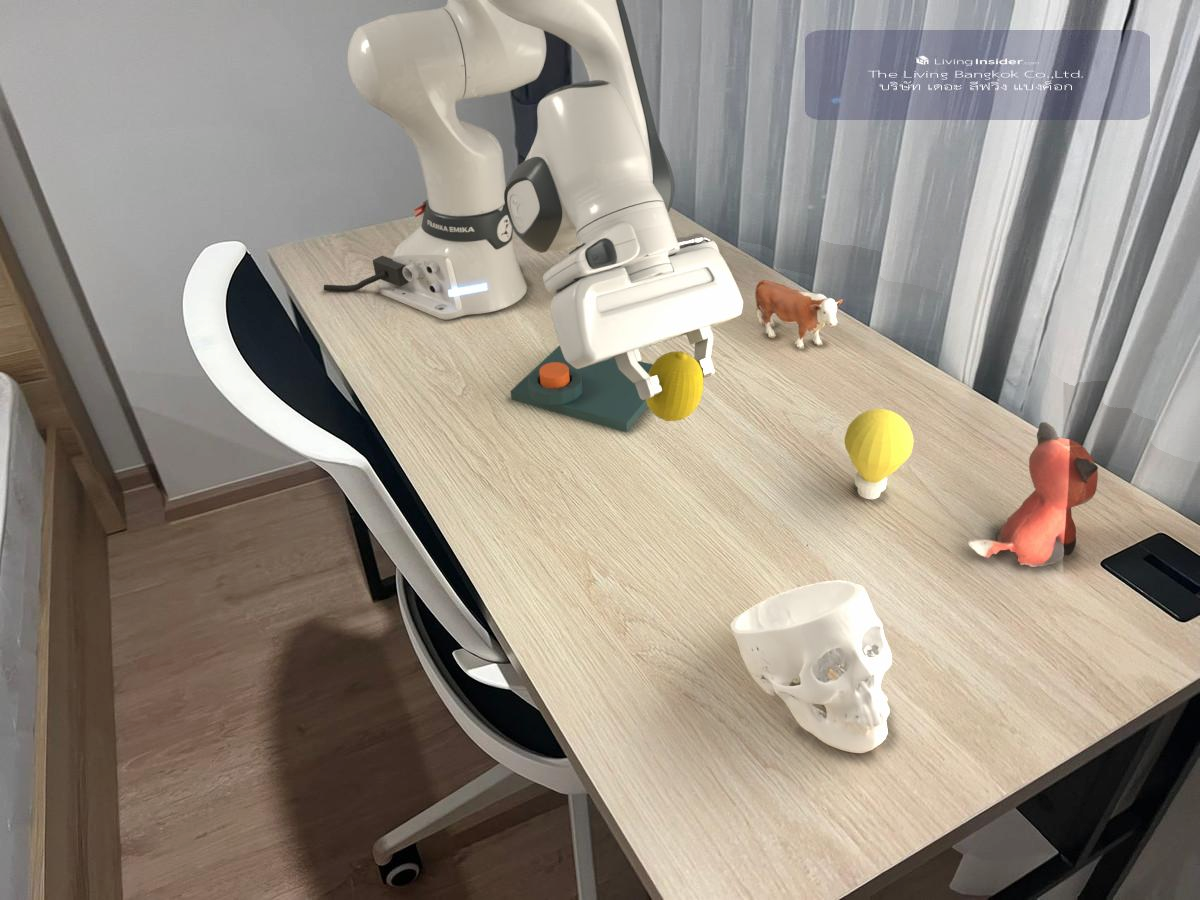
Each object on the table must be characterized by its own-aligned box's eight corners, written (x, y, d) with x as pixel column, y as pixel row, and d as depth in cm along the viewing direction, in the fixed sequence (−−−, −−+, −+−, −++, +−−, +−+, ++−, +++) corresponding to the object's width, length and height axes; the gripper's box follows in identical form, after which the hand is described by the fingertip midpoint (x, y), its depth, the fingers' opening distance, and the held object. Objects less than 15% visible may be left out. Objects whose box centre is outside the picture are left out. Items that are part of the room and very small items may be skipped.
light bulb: (824, 482, 97) (835, 406, 91) (875, 466, 99) (890, 389, 93) (862, 520, 92) (876, 441, 86) (915, 501, 94) (933, 423, 88)
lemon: (697, 439, 87) (714, 372, 82) (640, 435, 86) (654, 366, 81) (691, 405, 91) (707, 339, 86) (637, 401, 91) (650, 333, 86)
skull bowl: (844, 790, 66) (798, 638, 65) (739, 735, 79) (698, 607, 77) (945, 724, 70) (904, 580, 69) (830, 682, 83) (793, 560, 81)
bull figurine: (825, 365, 116) (833, 309, 111) (746, 328, 124) (750, 274, 119) (846, 353, 118) (854, 297, 113) (766, 317, 126) (771, 264, 121)
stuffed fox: (944, 539, 89) (970, 442, 82) (1032, 508, 93) (1065, 412, 85) (998, 589, 84) (1031, 490, 76) (1090, 554, 87) (1130, 456, 80)
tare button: (534, 385, 109) (533, 373, 108) (549, 371, 112) (548, 359, 111) (560, 392, 108) (559, 380, 107) (575, 378, 110) (574, 366, 109)
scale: (508, 403, 111) (505, 382, 109) (563, 351, 121) (562, 331, 119) (623, 436, 105) (623, 415, 103) (672, 378, 114) (672, 358, 112)
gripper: (691, 240, 93) (734, 366, 94) (527, 281, 82) (577, 423, 83) (730, 218, 88) (776, 352, 89) (560, 259, 77) (614, 411, 78)
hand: (678, 387), depth 86 cm, fingers closed on lemon, 5 cm apart
